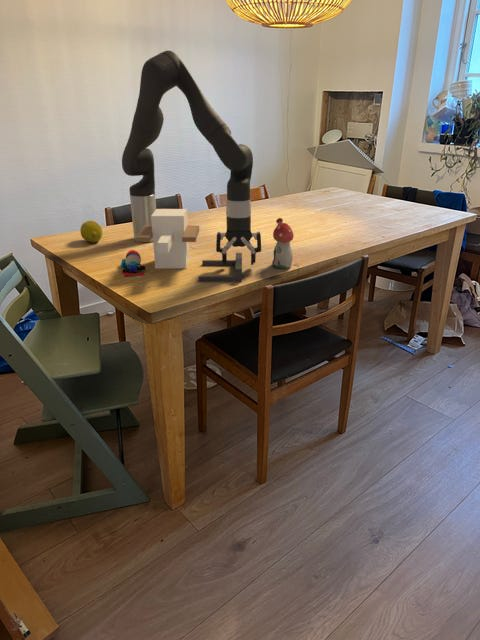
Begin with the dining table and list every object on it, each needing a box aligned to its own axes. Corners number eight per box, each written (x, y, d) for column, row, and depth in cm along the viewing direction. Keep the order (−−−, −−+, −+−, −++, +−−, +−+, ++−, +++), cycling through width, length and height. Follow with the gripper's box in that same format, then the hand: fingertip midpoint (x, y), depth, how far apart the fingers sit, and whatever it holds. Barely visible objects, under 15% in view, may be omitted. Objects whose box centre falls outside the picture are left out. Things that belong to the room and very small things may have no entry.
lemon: (105, 244, 179) (102, 223, 175) (83, 246, 176) (80, 225, 173) (101, 237, 188) (98, 216, 184) (80, 239, 185) (77, 218, 182)
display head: (148, 258, 163) (144, 208, 156) (201, 258, 163) (199, 208, 156) (135, 281, 143) (129, 225, 136) (195, 281, 143) (192, 225, 136)
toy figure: (147, 280, 149) (144, 257, 161) (144, 266, 146) (142, 244, 158) (122, 283, 148) (122, 261, 160) (119, 270, 145) (119, 248, 157)
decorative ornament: (271, 260, 161) (272, 216, 154) (290, 260, 161) (292, 216, 154) (272, 270, 152) (274, 223, 146) (293, 270, 152) (295, 223, 146)
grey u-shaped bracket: (198, 281, 143) (198, 269, 141) (202, 264, 157) (202, 252, 156) (241, 281, 143) (241, 269, 141) (241, 264, 157) (241, 252, 156)
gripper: (261, 211, 150) (260, 260, 156) (216, 211, 150) (217, 260, 157) (262, 216, 143) (261, 268, 150) (214, 216, 143) (216, 268, 150)
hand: (238, 264), depth 153 cm, fingers open, 8 cm apart
